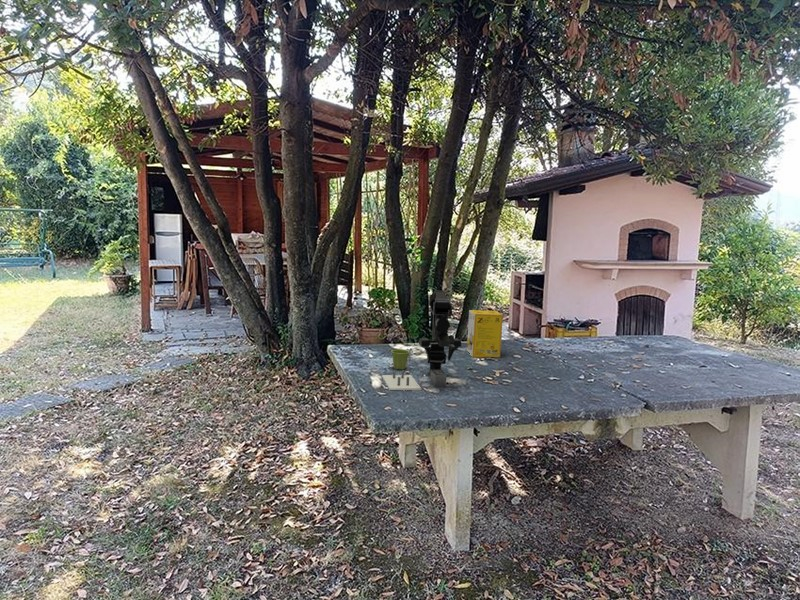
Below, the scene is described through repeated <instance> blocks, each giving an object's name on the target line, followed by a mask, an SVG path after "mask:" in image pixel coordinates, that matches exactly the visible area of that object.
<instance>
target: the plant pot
mask: <svg viewBox="0 0 800 600" xmlns="http://www.w3.org/2000/svg"><path fill="white" fill-rule="evenodd" d="M390 352H391V356H392V362H393V368H394V370H405V369H406V368H407V364H408V357H409V356H410V355H409V354H410V351H409V350H405V349H392V350H391V351H390Z"/></svg>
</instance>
